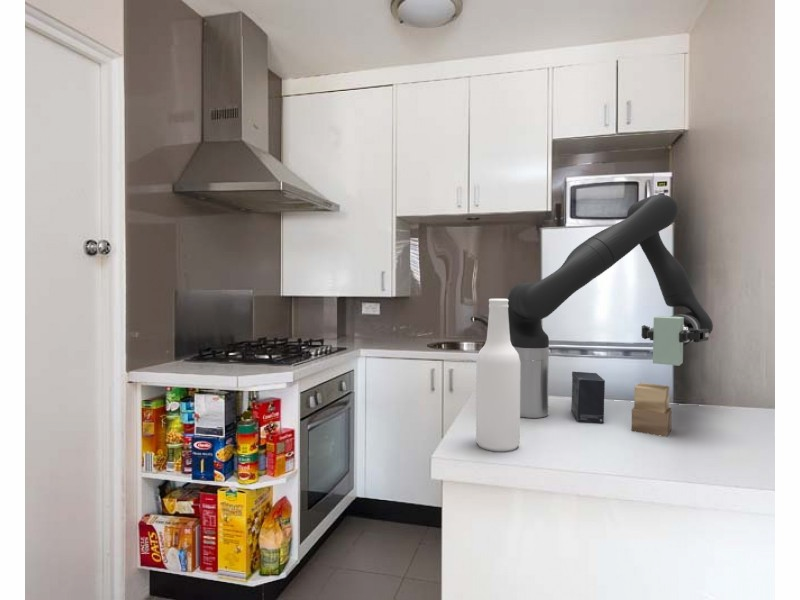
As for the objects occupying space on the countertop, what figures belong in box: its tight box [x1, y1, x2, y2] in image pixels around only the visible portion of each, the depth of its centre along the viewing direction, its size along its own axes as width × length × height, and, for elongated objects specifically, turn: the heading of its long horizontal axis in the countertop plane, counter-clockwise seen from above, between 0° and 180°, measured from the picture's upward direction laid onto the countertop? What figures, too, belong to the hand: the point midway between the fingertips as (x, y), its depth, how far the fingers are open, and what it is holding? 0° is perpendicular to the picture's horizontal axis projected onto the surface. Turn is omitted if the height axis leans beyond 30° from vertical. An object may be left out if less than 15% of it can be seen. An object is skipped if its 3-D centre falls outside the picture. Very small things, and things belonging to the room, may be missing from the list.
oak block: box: [633, 382, 670, 413], centre depth 109 cm, size 6×6×5 cm
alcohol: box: [475, 298, 521, 453], centre depth 99 cm, size 9×9×30 cm
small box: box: [570, 371, 606, 424], centre depth 120 cm, size 11×6×10 cm, turn 168°
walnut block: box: [631, 406, 673, 438], centre depth 109 cm, size 7×7×5 cm
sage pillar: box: [652, 315, 684, 367], centre depth 105 cm, size 5×5×10 cm
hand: (666, 336), depth 103 cm, fingers closed on sage pillar, 5 cm apart
